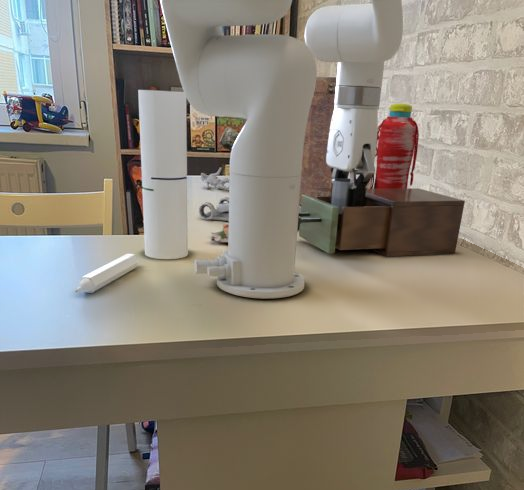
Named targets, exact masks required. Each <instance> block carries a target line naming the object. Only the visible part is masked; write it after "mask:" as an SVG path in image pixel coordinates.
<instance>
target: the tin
mask: <svg viewBox="0 0 524 490" xmlns="http://www.w3.org/2000/svg"><path fill="white" fill-rule="evenodd" d="M356 180H357V178H356ZM348 189H351V184H350V177H348V178H337V179H333V187H332V198H331V204H332V205H334V206H337V207H339V214H342V207H346V206H347V196H348Z"/></svg>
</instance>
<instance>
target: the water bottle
mask: <svg viewBox="0 0 524 490" xmlns="http://www.w3.org/2000/svg"><path fill="white" fill-rule="evenodd" d="M412 111H413V106H412V105H410V104H408V103H399V102H398V103H393V104H390V106H389V115H388V116H386V118H385V119H383V120H382V121H381V123H380V124H378V128H377V145H376V155H375V158H376V160H375V161H376V167H375V173H374V174H373V176H372V177H371V179H370V181H369V183H368V188H367V189H408V183H409V186H411V187H412V186H413V184H414V183H413V182H414V171H415V169H416V162H417V158H418V157H417V156H418V149H419V138H420V133H419V126H418V123H417V122H416V121H415V120H414V119H413V117H411V115H412ZM375 161H374V163H375ZM411 165H412V166H411ZM410 169H411V171H410ZM409 177H410V180H409Z"/></svg>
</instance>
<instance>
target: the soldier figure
mask: <svg viewBox="0 0 524 490" xmlns="http://www.w3.org/2000/svg"><path fill="white" fill-rule="evenodd" d="M222 169H223V167H219V169H218V170H217V172H215V173H210V174H208V175H207V174H206V173H205V172H201V173H200V179H201V181H202V182H204V183H205V189H209V187H210V186H212V187H214V188H215V189H218V190H219V189H222V190H228V191H229V186H226V185H225V184H227V183H228V184H230V178H229V177H223V178H222V179H220V178H219V177H218V176H219V175H220V173H221V172H222Z"/></svg>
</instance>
